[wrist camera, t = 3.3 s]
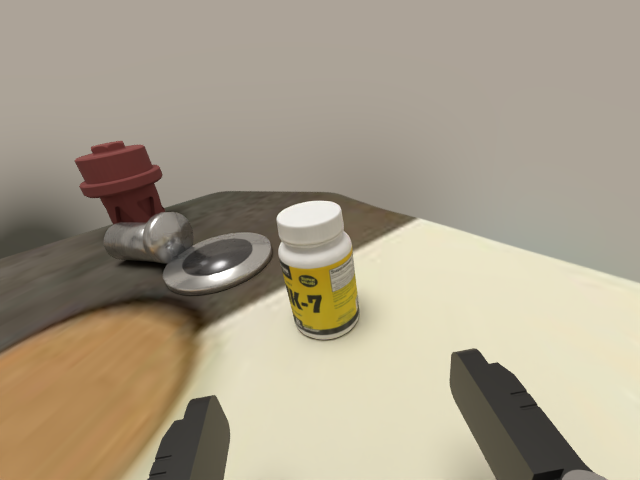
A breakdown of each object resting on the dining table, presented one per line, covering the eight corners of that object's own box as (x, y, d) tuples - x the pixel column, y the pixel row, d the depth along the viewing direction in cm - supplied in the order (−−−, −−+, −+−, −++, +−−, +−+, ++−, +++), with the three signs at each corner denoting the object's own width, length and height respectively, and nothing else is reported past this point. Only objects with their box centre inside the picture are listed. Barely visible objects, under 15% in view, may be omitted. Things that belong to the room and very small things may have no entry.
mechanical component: (131, 247, 40) (94, 238, 45) (192, 216, 47) (155, 212, 52) (84, 152, 34) (48, 154, 39) (162, 133, 42) (123, 137, 47)
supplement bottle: (282, 323, 23) (253, 219, 19) (325, 289, 25) (308, 194, 22) (330, 353, 19) (308, 236, 16) (373, 311, 22) (363, 203, 18)
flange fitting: (87, 283, 33) (59, 237, 30) (164, 235, 42) (147, 197, 39) (234, 301, 26) (214, 243, 23) (288, 239, 35) (278, 192, 32)
